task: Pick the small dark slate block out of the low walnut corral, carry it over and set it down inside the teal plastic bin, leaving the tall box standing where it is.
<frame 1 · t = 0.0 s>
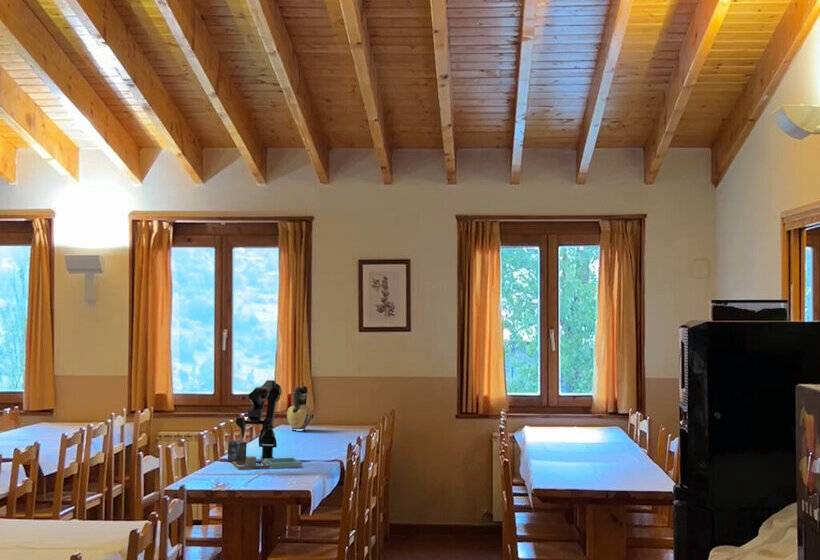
hand: (251, 437, 438), 15 cm above the table, tool tilted 35°, fingers open, 9 cm apart
corral: (250, 466, 441), on the table
amphora: (298, 431, 590), on the table
box: (236, 462, 454), on the table
slate block: (250, 461, 441), in the corral
bin: (282, 465, 447), on the table
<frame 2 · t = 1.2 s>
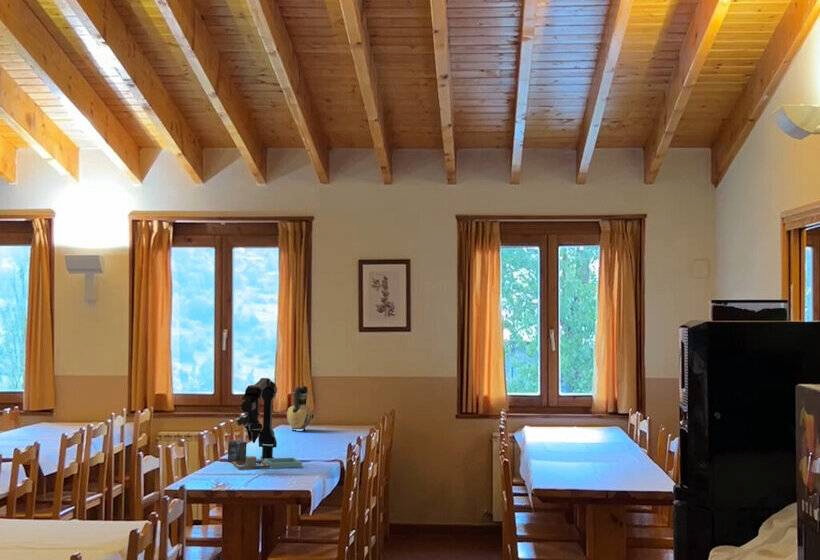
hand: (251, 441, 442), 13 cm above the table, tool pointing down, fingers open, 9 cm apart
nothing on the table moved.
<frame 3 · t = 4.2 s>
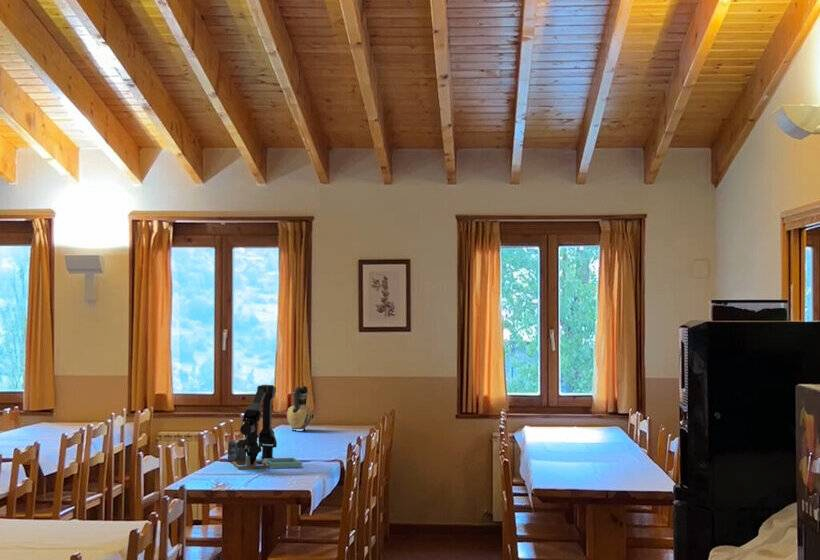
hand: (250, 463, 441), 1 cm above the table, tool pointing down, fingers closed on slate block, 4 cm apart
slate block: (250, 461, 441), in the corral, touching gripper
everything else where it was.
when the fingers open (3 cm above the table, at t = 9.6 s): slate block drops 2 cm, resting on bin.
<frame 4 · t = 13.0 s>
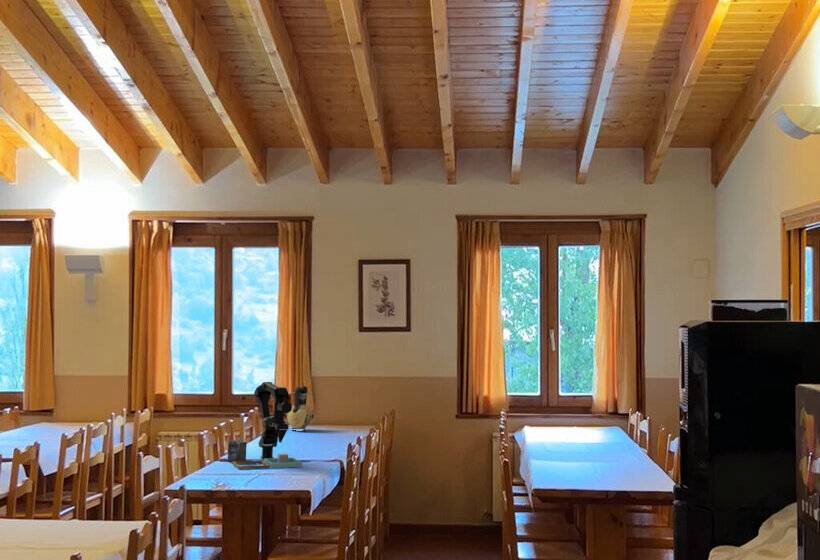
hand: (277, 441, 456), 11 cm above the table, tool pointing down, fingers open, 9 cm apart
slate block: (282, 459, 447), in the bin, point 3 cm above the table
everything else where it was.
at the end: slate block inside the target area on the bin (0.0 cm from its centre), point 3.1 cm above the bin's base; slate block tilted 0°; the gripper is holding nothing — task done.
